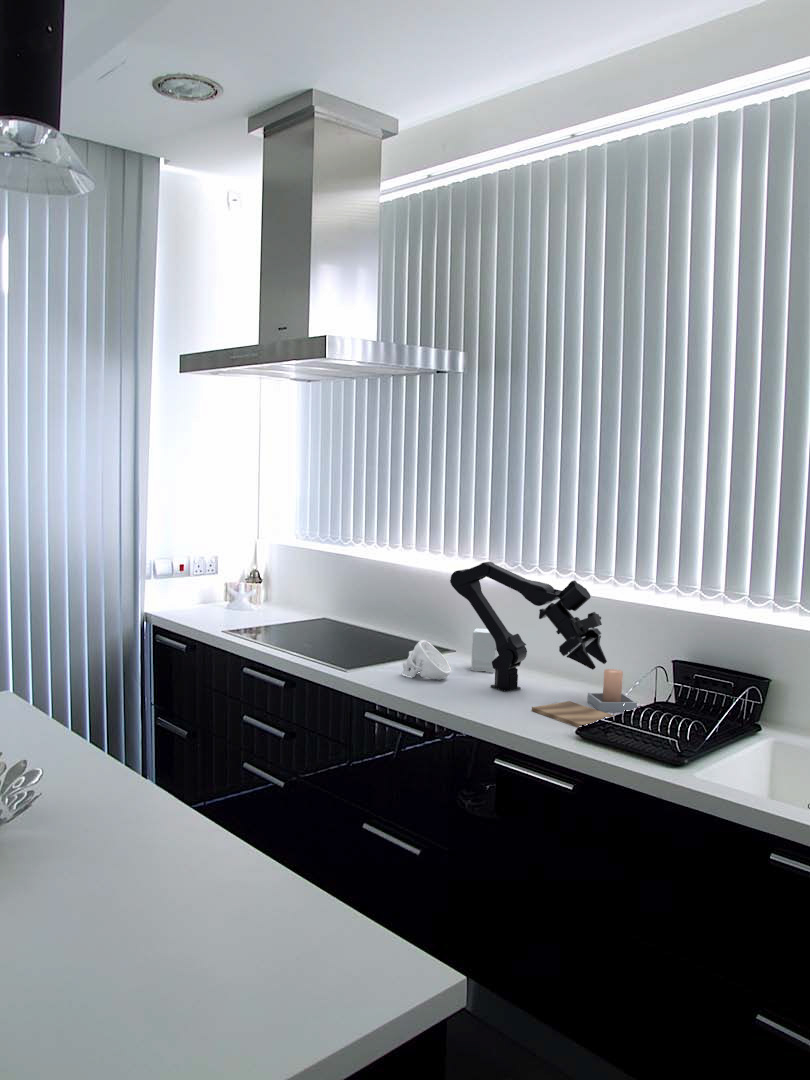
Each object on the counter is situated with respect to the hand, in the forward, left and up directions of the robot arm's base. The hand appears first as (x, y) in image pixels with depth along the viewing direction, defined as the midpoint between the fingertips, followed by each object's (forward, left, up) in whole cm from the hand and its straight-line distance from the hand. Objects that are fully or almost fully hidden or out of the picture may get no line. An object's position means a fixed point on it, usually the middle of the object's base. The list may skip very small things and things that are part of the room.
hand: (600, 665), depth 253 cm
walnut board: (+5, -14, -11) cm, 19 cm away
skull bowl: (-47, -25, -11) cm, 54 cm away
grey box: (+3, +2, -11) cm, 11 cm away
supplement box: (-48, -1, -11) cm, 49 cm away
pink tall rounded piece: (+3, +2, -11) cm, 12 cm away
